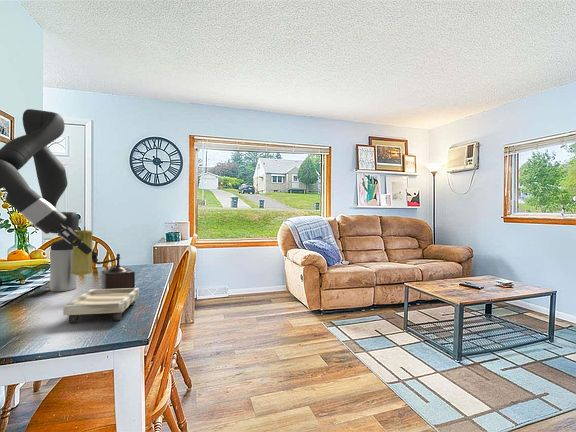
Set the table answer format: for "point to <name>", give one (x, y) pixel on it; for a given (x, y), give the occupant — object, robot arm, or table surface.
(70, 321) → the caster dolly
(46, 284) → the table surface
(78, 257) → the vase
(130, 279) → the coffee grinder
